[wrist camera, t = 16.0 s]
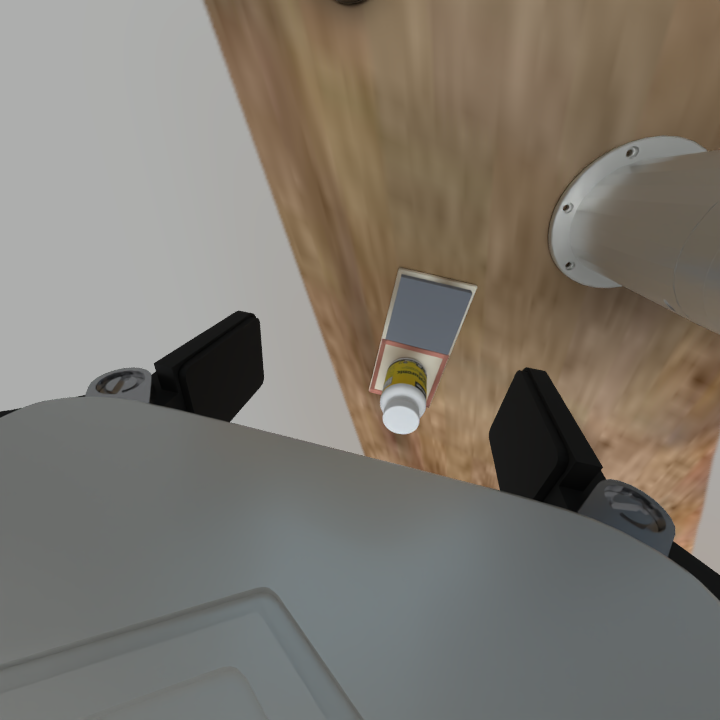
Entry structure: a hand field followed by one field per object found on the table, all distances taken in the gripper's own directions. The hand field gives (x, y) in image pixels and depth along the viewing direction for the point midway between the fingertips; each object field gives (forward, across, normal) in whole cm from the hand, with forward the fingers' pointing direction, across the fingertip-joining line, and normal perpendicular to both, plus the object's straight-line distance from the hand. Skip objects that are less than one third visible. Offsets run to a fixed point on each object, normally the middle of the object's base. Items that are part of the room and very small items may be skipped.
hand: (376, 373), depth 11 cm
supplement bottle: (+26, -2, +16) cm, 30 cm away
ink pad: (+26, -3, +7) cm, 27 cm away
